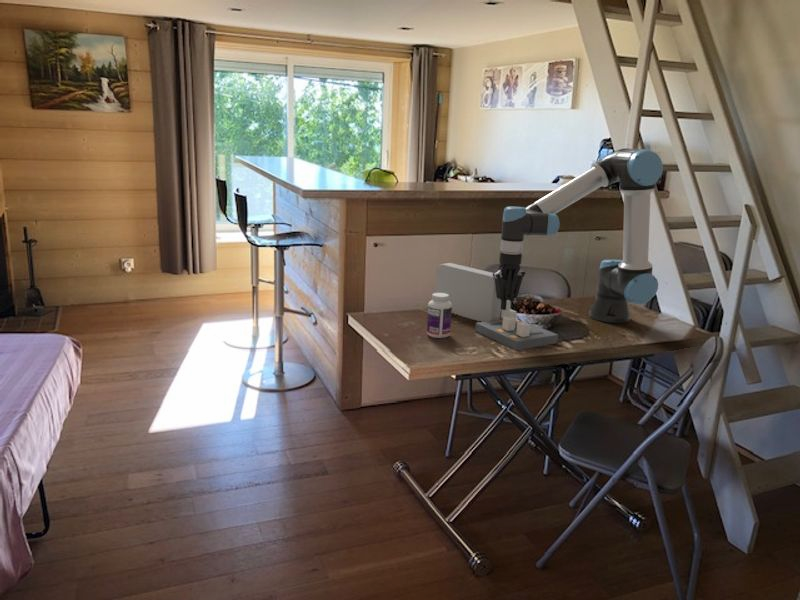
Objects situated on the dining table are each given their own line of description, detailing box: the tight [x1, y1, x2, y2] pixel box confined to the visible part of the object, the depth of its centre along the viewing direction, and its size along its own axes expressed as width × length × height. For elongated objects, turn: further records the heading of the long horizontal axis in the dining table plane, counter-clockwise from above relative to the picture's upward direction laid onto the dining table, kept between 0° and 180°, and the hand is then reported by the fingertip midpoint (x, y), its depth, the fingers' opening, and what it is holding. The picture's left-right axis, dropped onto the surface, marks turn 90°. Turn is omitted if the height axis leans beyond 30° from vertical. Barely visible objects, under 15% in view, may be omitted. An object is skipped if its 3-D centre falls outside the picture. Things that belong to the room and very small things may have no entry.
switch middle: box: [502, 316, 516, 331], centre depth 214 cm, size 3×3×4 cm
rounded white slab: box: [434, 262, 502, 322], centre depth 239 cm, size 29×8×18 cm, turn 44°
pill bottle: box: [426, 292, 452, 339], centre depth 213 cm, size 8×8×14 cm
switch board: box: [474, 318, 559, 351], centre depth 216 cm, size 18×22×3 cm
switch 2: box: [516, 321, 531, 337], centre depth 208 cm, size 3×3×4 cm
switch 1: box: [510, 308, 517, 322], centre depth 223 cm, size 3×3×4 cm
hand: (505, 318), depth 221 cm, fingers closed
